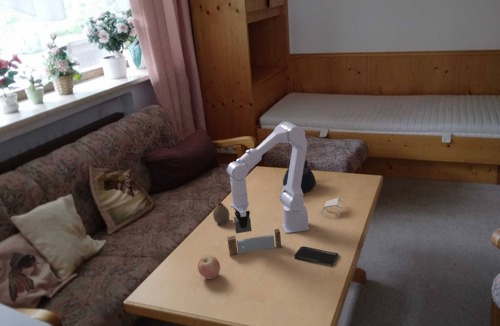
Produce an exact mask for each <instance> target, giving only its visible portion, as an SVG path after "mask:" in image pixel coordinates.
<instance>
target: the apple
mask: <svg viewBox="0 0 500 326" xmlns="http://www.w3.org/2000/svg"><path fill="white" fill-rule="evenodd" d="M197 269H198V273H199V274H200V276H202V277H203V278H205V279H207V280H213V279H215V278H216V277H217V276H218V275H219V274H220V271H221V264H220V261H219V260H218V258H217V257H216V256H213V255H209V254H208V255H204V256H202V257H200V258H199V260H198V263H197Z"/></svg>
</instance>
